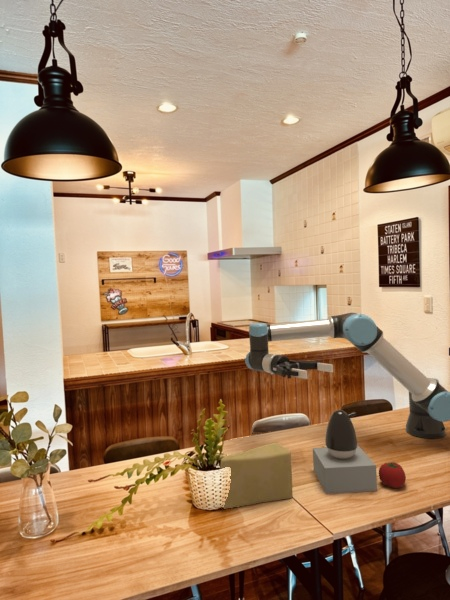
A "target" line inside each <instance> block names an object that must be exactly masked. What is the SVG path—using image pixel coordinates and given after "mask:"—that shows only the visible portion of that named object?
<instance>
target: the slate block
mask: <svg viewBox="0 0 450 600" xmlns="http://www.w3.org/2000/svg"><path fill="white" fill-rule="evenodd" d="M312 464H313V466H312V467H313V472H314V474H315V476H316V478H317V480H318V481H319V483H320V485H321V487H322V489H323V491H324V492H325V494H327V495H328V494H343V493H344V494H346V493H359V492H360V493H361V492H362V493H363V492H377V491H378V478H377V477H378V476H377V474H378V473H377V465H376V463H375V462H374V461H373V460H372V459H371V458H370V457H369V456H368V454H366V452H365V451H364V450H363V449H362V448H361V447H360V446H359V445H358V446H357V448H356V452H355V454H354V455H353V456H352V457H350V458H348V459H338V458H336V457H334V456H332V455H331V454H330V453H329V451H328V449H327V446H322V447H319V446H318V447H312Z"/></svg>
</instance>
